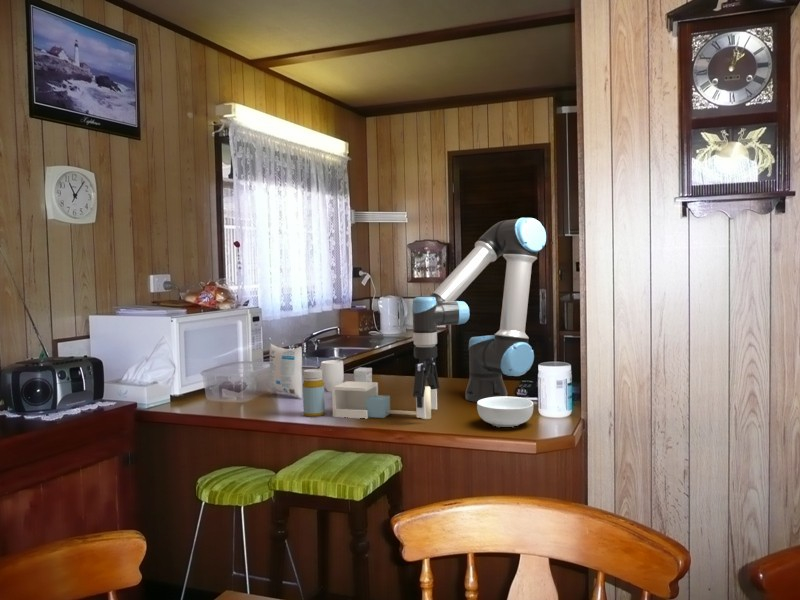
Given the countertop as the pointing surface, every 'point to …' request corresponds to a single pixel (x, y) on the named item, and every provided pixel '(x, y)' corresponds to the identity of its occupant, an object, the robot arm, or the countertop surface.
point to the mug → (332, 373)
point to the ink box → (363, 375)
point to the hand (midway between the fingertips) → (427, 413)
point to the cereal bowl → (505, 410)
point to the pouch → (286, 370)
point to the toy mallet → (381, 406)
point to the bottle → (313, 393)
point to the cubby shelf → (352, 398)
